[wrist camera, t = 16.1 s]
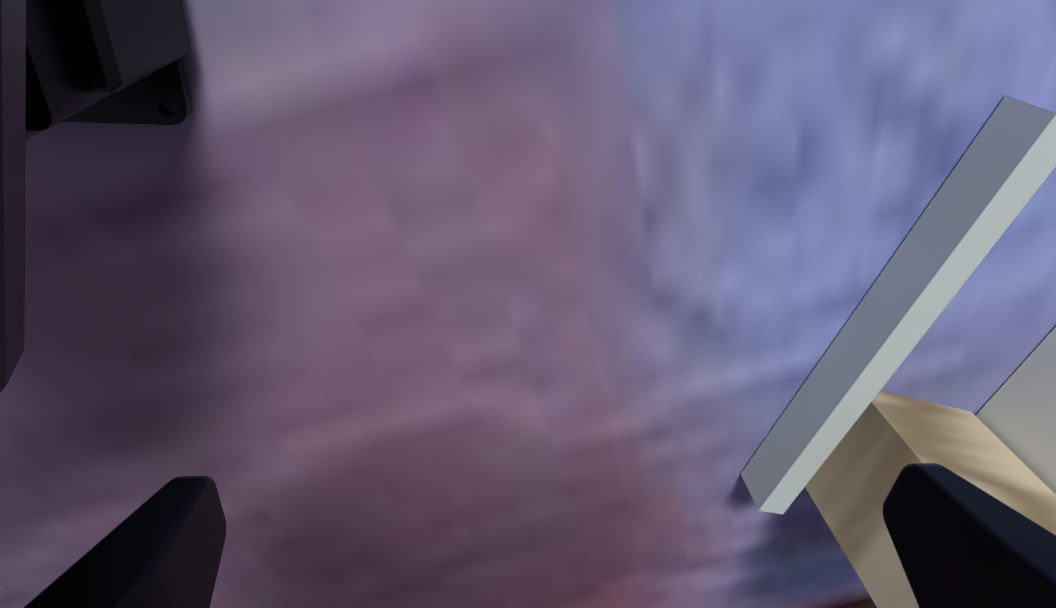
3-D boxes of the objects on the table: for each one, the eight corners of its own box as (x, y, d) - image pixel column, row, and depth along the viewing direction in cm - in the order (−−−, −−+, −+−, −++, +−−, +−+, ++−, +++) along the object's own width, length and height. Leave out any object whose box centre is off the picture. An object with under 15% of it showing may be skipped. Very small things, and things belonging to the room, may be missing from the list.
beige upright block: (794, 470, 28) (960, 746, 19) (857, 385, 26) (1083, 655, 16) (901, 489, 30) (1104, 754, 20) (970, 411, 27) (1236, 672, 18)
